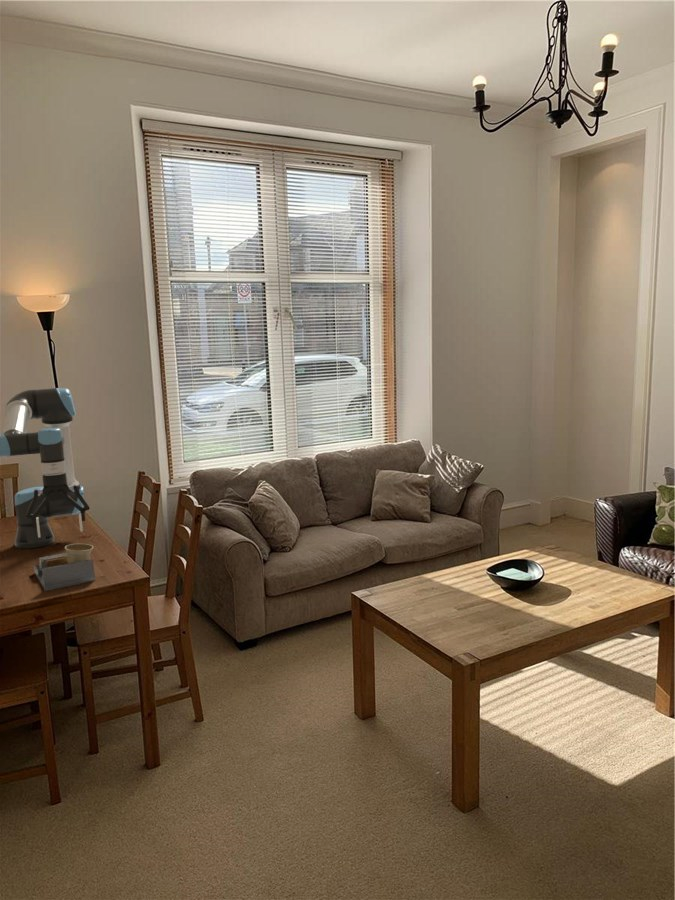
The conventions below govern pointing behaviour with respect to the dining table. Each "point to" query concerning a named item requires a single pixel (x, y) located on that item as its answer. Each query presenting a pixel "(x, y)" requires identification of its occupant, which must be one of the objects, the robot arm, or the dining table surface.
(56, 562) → the block
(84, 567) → the grey open box
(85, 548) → the flower pot
